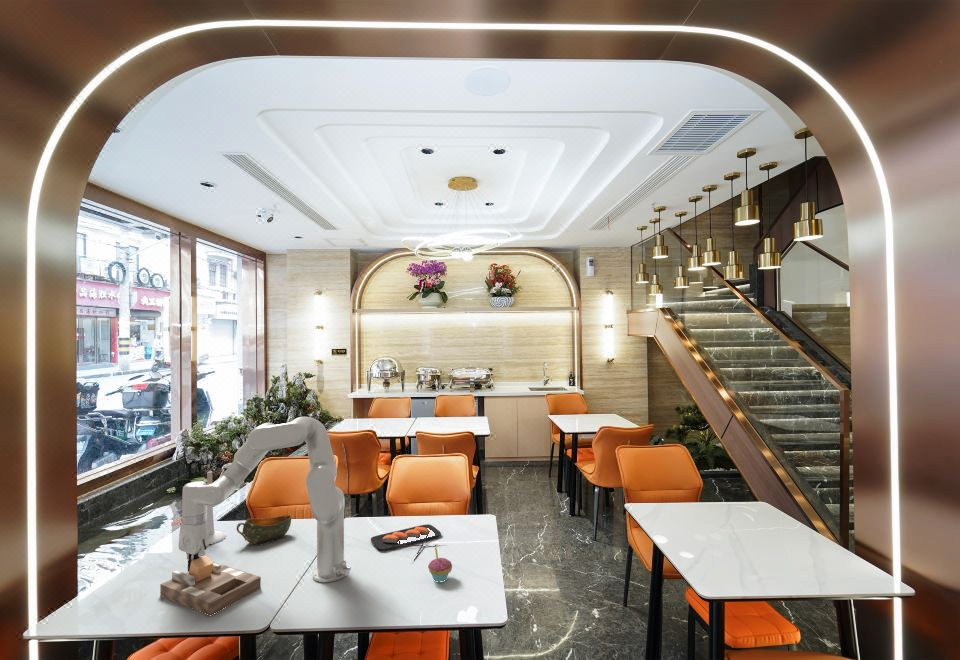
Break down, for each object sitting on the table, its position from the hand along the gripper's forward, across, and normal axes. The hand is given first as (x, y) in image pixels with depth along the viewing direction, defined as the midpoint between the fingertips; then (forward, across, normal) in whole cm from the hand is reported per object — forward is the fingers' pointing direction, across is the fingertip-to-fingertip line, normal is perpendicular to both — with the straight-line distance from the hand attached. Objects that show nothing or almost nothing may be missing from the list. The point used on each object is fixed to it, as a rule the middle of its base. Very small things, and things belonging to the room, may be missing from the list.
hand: (193, 570), depth 162 cm
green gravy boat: (+6, -10, +37) cm, 39 cm away
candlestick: (+6, -33, +27) cm, 43 cm away
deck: (+6, +10, 0) cm, 11 cm away
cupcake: (+5, +77, +42) cm, 88 cm away
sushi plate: (+6, +52, +60) cm, 80 cm away
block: (+1, +4, 0) cm, 4 cm away
